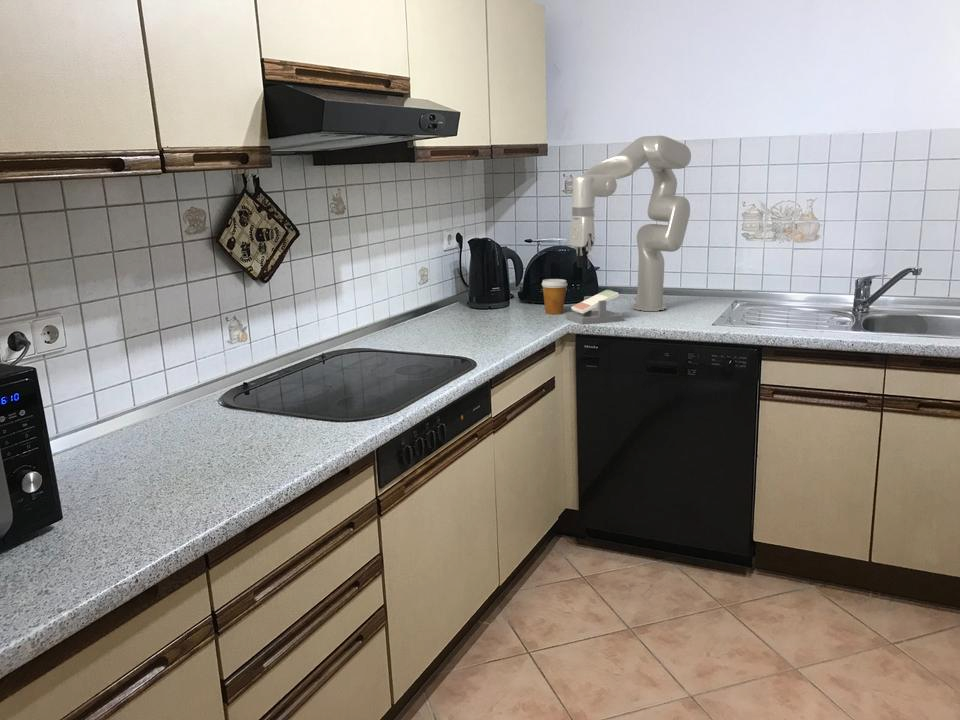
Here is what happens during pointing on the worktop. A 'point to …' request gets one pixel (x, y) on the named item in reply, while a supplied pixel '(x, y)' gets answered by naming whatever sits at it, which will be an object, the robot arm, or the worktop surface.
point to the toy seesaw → (595, 315)
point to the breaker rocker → (594, 301)
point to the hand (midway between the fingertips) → (582, 267)
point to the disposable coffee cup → (554, 295)
